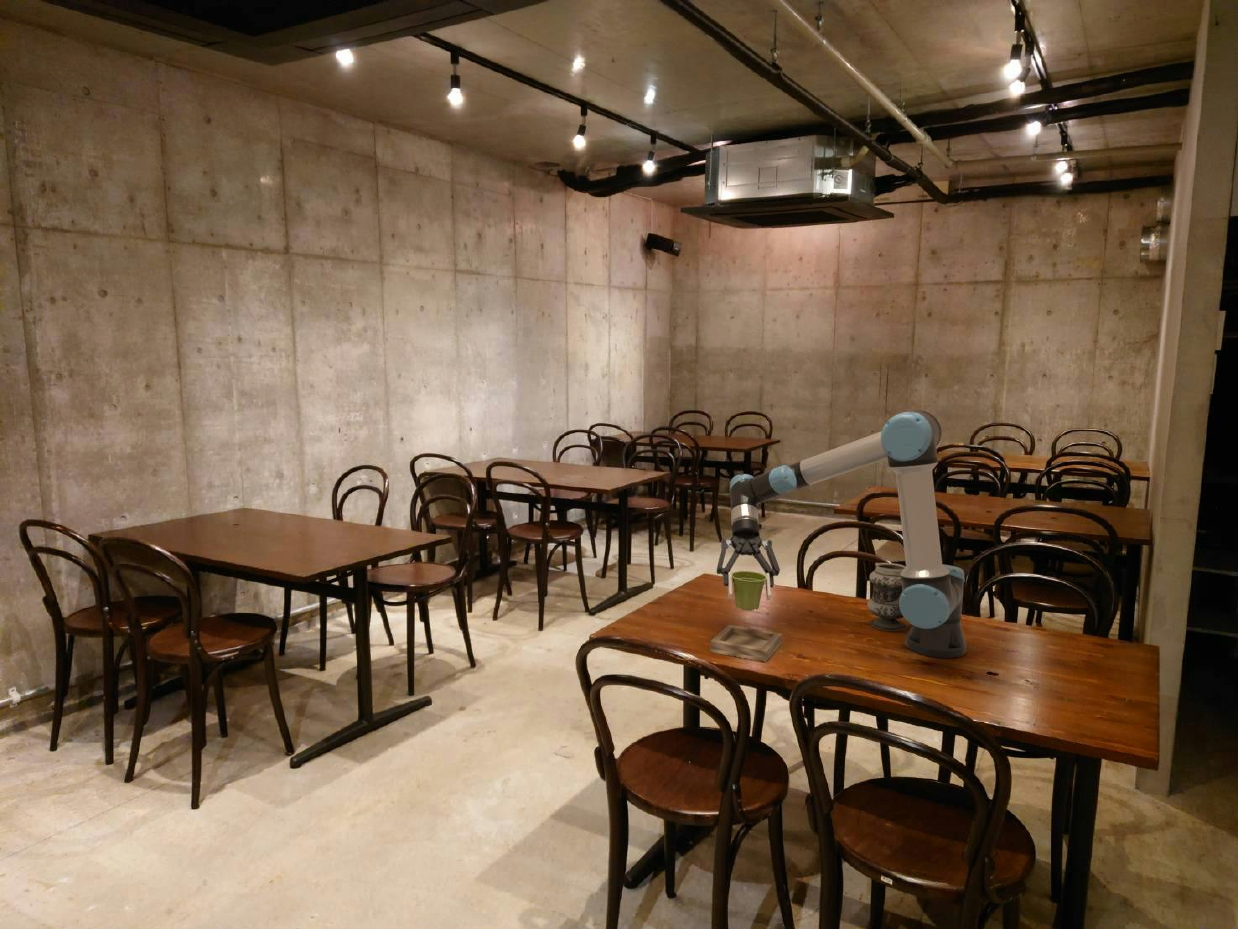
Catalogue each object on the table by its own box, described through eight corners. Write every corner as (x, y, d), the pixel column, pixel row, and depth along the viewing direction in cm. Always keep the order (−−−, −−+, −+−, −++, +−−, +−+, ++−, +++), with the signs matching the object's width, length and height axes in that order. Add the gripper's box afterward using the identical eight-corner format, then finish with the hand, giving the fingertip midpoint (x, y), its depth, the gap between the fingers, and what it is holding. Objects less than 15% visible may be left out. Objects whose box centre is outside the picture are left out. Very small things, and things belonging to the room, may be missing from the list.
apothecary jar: (901, 619, 234) (905, 561, 232) (915, 633, 222) (920, 572, 220) (861, 618, 235) (864, 560, 232) (873, 632, 223) (877, 571, 220)
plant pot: (763, 603, 211) (765, 571, 210) (766, 614, 202) (768, 581, 201) (729, 601, 212) (730, 570, 211) (730, 612, 203) (731, 579, 202)
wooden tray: (781, 644, 212) (781, 633, 211) (765, 662, 199) (766, 651, 198) (728, 634, 218) (729, 624, 218) (710, 652, 205) (710, 641, 205)
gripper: (782, 533, 220) (789, 605, 206) (704, 530, 221) (706, 602, 207) (786, 518, 214) (794, 591, 200) (706, 516, 215) (708, 588, 201)
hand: (749, 597), depth 204 cm, fingers closed on plant pot, 9 cm apart
